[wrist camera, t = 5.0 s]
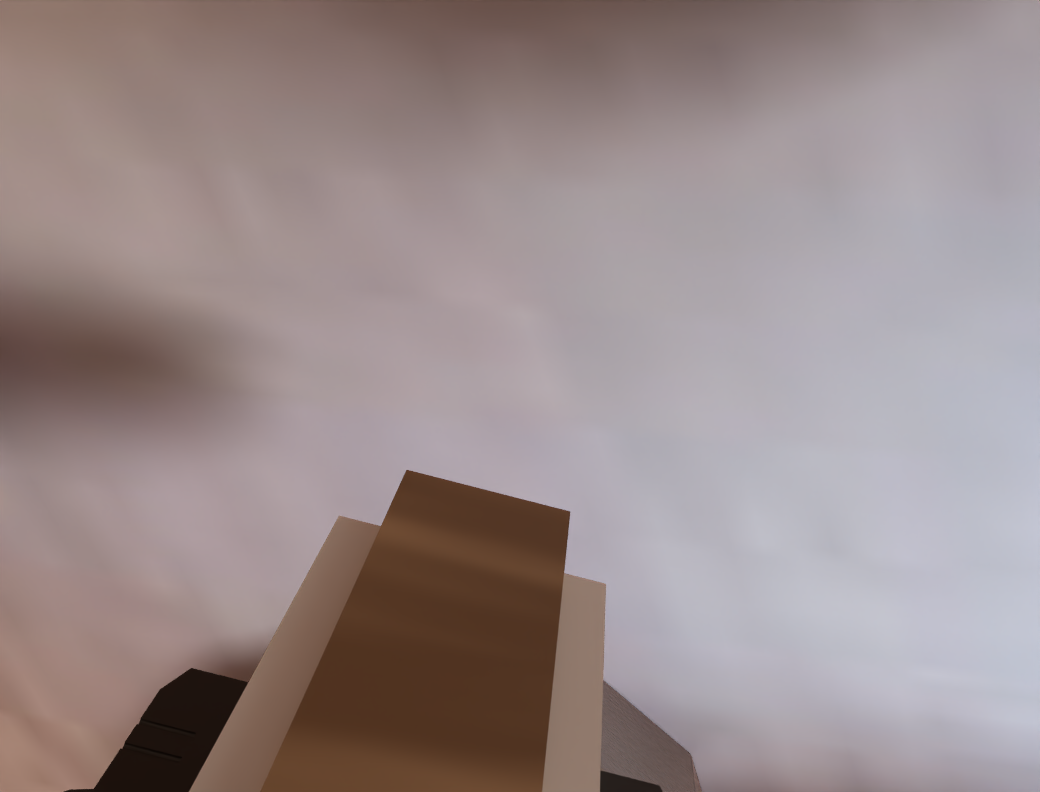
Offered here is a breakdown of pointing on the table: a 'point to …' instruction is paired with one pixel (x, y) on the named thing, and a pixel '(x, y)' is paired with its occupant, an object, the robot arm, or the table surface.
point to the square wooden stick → (438, 652)
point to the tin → (642, 748)
